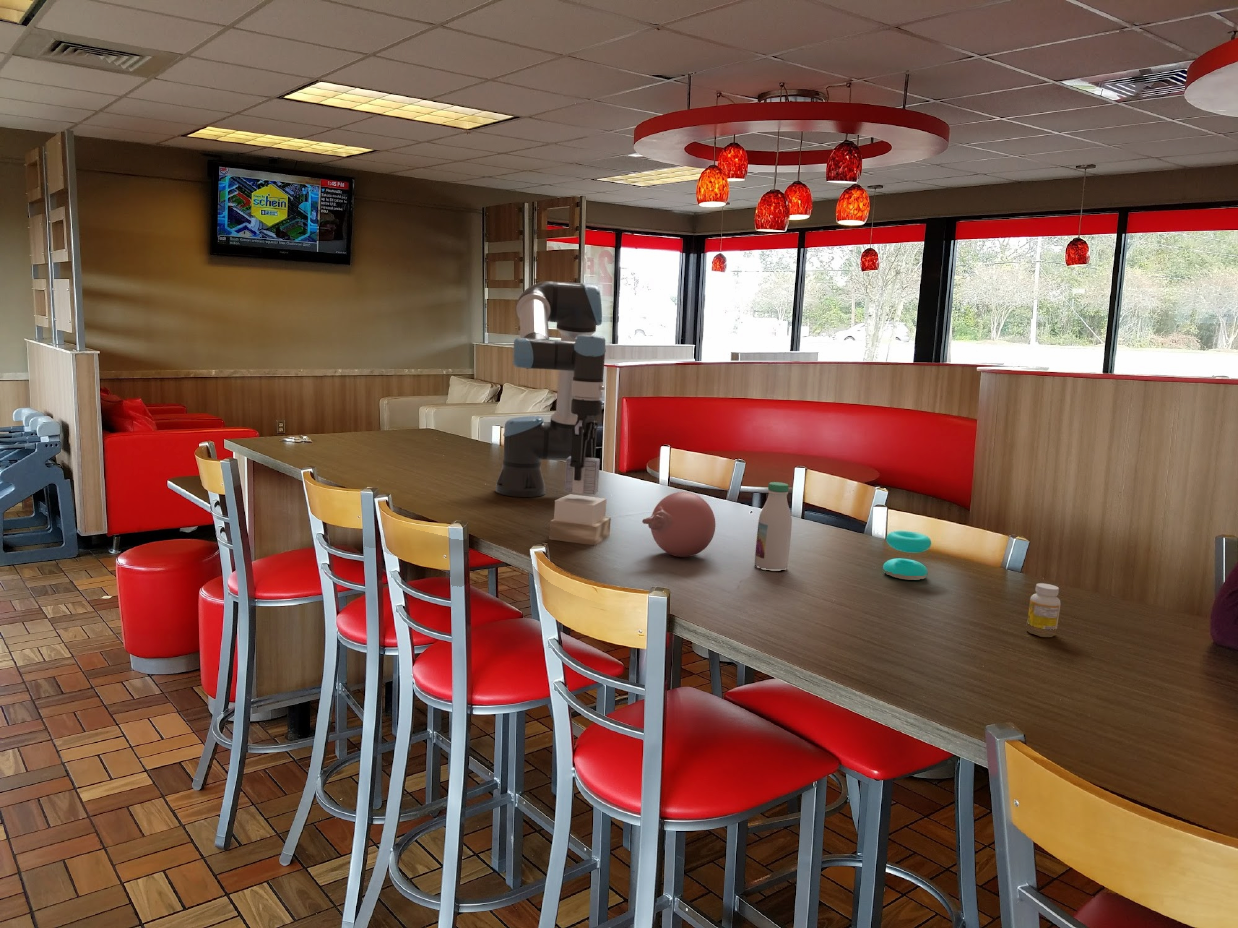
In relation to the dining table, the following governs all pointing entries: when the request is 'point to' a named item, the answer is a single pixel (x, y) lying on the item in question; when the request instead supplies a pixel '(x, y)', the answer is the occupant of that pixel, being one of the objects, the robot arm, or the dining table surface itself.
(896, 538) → the donuts
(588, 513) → the off-white top block
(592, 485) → the medicine box
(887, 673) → the dining table surface
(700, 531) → the round balloon
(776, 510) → the milk bottle
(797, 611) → the dining table surface
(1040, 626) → the supplement bottle
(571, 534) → the birch base block
